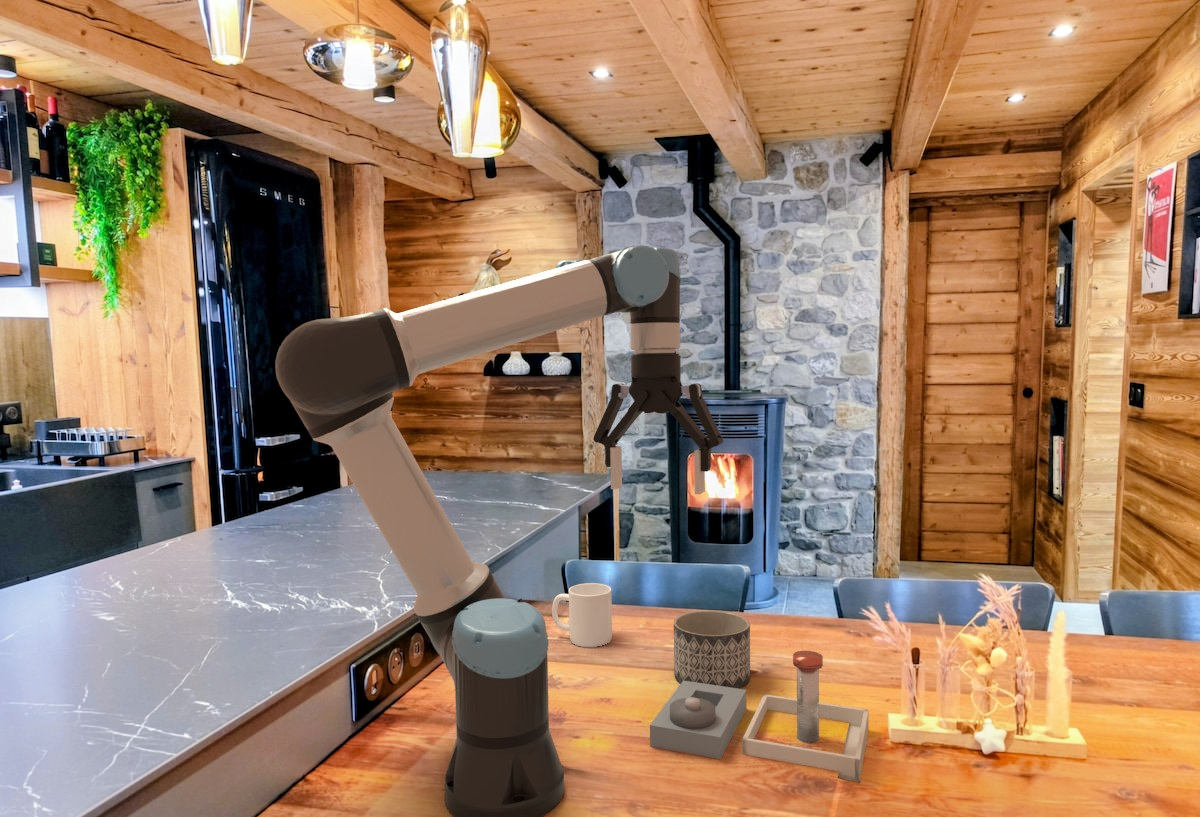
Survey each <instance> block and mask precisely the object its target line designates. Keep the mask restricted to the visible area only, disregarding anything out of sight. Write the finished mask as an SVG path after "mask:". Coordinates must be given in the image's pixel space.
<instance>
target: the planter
mask: <svg viewBox="0 0 1200 817" xmlns="http://www.w3.org/2000/svg"><path fill="white" fill-rule="evenodd" d="M673 655H674V656H673V662H674V663H673V665H674V667H673V670H674V671H673V673H674V675H673V676H674V679H675V680H676V682H678V683H679V685H680V684H681V683H682V681H690V682H697V683H704V684H710V685H717V686H724V687H731V688H738V689H742V688H744V687H747V685H748V684H749V683H750V680H751V623H750V621H749V620H748V618H746V617H744V616H743V615H740V614H738V613H734V612H730V611H725V610H715V609H714V610H713V609H712V610H708V609H707V610H706V609H705V610H704V609H703V610H694V611H689V612H684V613H683V614H679V615H677V616H676V617H675V619H674V620H673Z"/></svg>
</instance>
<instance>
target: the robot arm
mask: <svg viewBox="0 0 1200 817" xmlns="http://www.w3.org/2000/svg"><path fill="white" fill-rule="evenodd" d="M679 261H680V260H679V255H678V252H676V251H675V250H674V249H673V248H668V247H652V246H648V245H644V244H643V245H631V246H627V247H624V248H622V249H619V250H617V251H614V252H610V253H607V254H602V255H600V256H596V257H592V258H589V259H586V260H585V259H579V258H576V259H570V260H569V259H568V260H567V259H564V260H560V261H559V262H558V263H557V264H556V266H555V267H554V269H551V270H546V271H543V272H540V273H537V274H536V273H535V274H533V275H529V276H526V277H525V276H524V277H522V278H518V279H516V280H511V281H508V282H503V283H502V284H501V283H500V284H498V285H494V286H489V287H486V288H483V289H479V290H476V291H473V292H470V293H469V292H468V293H465V294H462V295H458V296H455V297H452V298H448V299H445V300H441V301H437V302H434V303H430V304H426V305H424V306H419V307H416V308H412V309H409V310H405V311H402V312H398V313H397V312H394V311H393V310H391V309H388V308H387V307H385V308H384V307H383V308H381V309H378V310H373V311H369V312H365V313H361V314H354V315H348V316H341V317H331V318H320V319H319V318H318V319H315V320H310V321H307V322H305V323H303V324H300V325H299V326H298V327H296V328H295V329H294V330H292V331H291V332H290V333H289V334H288V335H287V336H286V337H285V338H284V340H283V341H282V342H281V344H280V345H279V348H278V351H277V353H276V358H275V361H274V362H275V363H274V364H275V366H274V368H275V375H276V380H277V382H278V385H279V387H280V388H281V390H282V392H283V393H284V395H285V396H286V397H287V398H288V399H289V401H290V403H291V404H292V406H293V408H294V410H295V411H296V413H297V414H298V417H299V419H300V420H301V421H302V423H303V425H304V427H305V428H306V430H307V432H308V433H309V435H310V437H311V438H312V440H313V441H314V442H319V443H322V444H325V445H328V446H330V447H331V449H332V451H333V452H334V454H335V456H336V457H337V459H338V460H339V462H340V463H341V466H342V467H343V469H344V471H345V472H346V474H347V476H348V477H349V479H350V482H351V483H352V484H353V487H354V488H355V490H356V491H357V493H358V495H359V496H360V499H361V500H362V502H363V503H364V505H365V506H366V507H365V508H367V510H368V512H369V513H370V515H371V517H372V519H373V521H374V522H375V524H376V526H377V527H378V529H379V530H380V533H381V534H382V536H383V538H384V539H385V541H386V542H387V544H388V546H389V548H390V550H391V551H392V553H393V555H394V556H395V558H396V560H397V561H398V563H399V565H400V567H401V568H402V570H403V572H404V573H405V575H406V577H407V578H408V580H409V583H410V584H411V586H412V587H413V589H414V591H415V592H416V598H415V602H414V605H413V611H414V614H415V615H416V617H417V619H418V620H419V622H420V624H421V625H422V627H423V628H424V630H425V632H426V634H427V635H428V637H429V639H430V642H431V644H432V646H433V648H434V649H435V651H436V652H437V654H438V655H439V656H440V658H441V660H442V661H443V664H444V665H445V667H446V669H447V671H448V674H449V675H450V677H451V679H452V680H453V685H454V692H455V694H454V696H455V698H454V700H455V719H456V720H455V723H456V727H455V728H456V739H455V742H454V746H453V750H452V753H451V756H450V759H449V763H448V766H447V769H446V773H445V776H444V781H443V782H444V783H443V792H444V793H443V795H444V804H445V807H446V808H447V810H448V811H449V812H450V814H452V816H454V817H542V816H545V815H546V814H548V813H549V812H551V811H552V810H553V809H555V807H556V806H558V804H559V803H560V802H561V800H562V798H563V797H564V794H565V793H564V792H565V773H564V768H563V764H562V763H561V760H560V757H559V753H558V751H557V748H556V745H555V742H554V739H553V737H552V734H551V731H550V719H549V718H550V716H549V713H550V712H549V677H548V676H549V673H548V671H549V669H548V666H549V665H548V662H549V661H548V651H549V635H548V632H547V624H546V620H545V618H544V616H543V614H542V613H541V612H540V611H539V609H537V608H536V607H535V606H534V605H532V604H530V603H528V602H525V601H523V602H519V601H518V600H517V599H511V598H506V597H505V596H504V593H503V591H502V590H501V589H500V585H499V584H498V583H497V581H496V579H495V578H494V576H493V574H492V572H491V570H490V568H489V566H488V565H486V564H485V563H482V562H481V563H480V562H474V561H473V560H472V559H471V557H470V555H469V553H468V552H467V550H466V548H465V546H464V544H463V542H462V541H461V539H460V537H459V535H458V534H457V532H456V530H455V529H454V527H453V525H452V523H451V521H450V519H449V518H448V516H447V514H446V513H445V511H444V508H443V507H442V505H441V503H440V502H439V499H438V498H437V496H436V494H435V492H434V490H433V489H432V487H431V485H430V483H429V482H428V480H427V478H426V477H425V474H424V473H423V471H422V469H421V468H420V465H419V464H418V462H417V460H416V458H415V456H414V454H413V453H412V451H411V449H410V447H409V446H408V443H407V442H406V440H405V438H404V437H403V436H402V433H401V432H400V429H399V428H398V427H397V424H396V422H395V421H394V419H393V417H392V414H391V410H392V408H393V404H394V400H395V397H394V395H393V394H392V393H394V392H396V391H399V390H402V389H406V388H410V387H411V386H413V383H414V382H415V380H416V378H417V377H418V376H419V375H421V374H424V373H427V372H430V371H433V370H436V369H440V368H443V367H445V366H449V365H453V364H455V363H458V362H459V363H460V362H462V361H464V360H465V361H466V360H468V359H472V358H474V357H477V356H480V355H485V354H487V353H491V352H493V351H494V352H495V351H497V350H500V349H503V348H506V347H509V346H512V345H516V344H519V343H522V342H525V341H528V340H531V339H535V338H538V337H541V336H544V335H547V334H550V333H554V332H556V331H560V330H563V329H566V328H570V327H572V326H576V325H579V324H583V323H584V322H587V321H591V320H594V319H597V318H601V317H604V316H608V315H611V314H614V313H615V314H616V313H623V314H624V313H627V314H628V313H629V316H630V321H629V322H630V349H631V350H632V351H634V354H633V353H632V355H631V356H630V373H631V382H630V385H627V384H626V385H625V384H624V383H621V382H620V383H614V384H612V387H611V393H610V399H609V401H608V404H607V406H606V408H605V411H604V413H603V416H602V418H601V420H600V422H599V424H598V426H597V429H596V430H595V433H594V435H593V438H592V440H593V442H595V443H598V444H599V445H603V447H604V454H605V455H604V456H605V457H604V458H605V460H604V461H605V462H604V464H605V467H606V468H610V490H618V489H620V488H622V487H623V473H622V472H623V463H622V461H623V460H622V458H623V457H622V456H623V455H622V454H623V453H622V445H618V444H619V443H618V442H620V440H621V438H622V437H623V436H624V435H625V433H626V432H628V430H629V429H630V427H631V426H632V425H633V423H634V422H635V421H637V418H639V416H640V415H641V414H642V413H644V414H652V413H656V414H663V415H664V414H667V413H669V414H670V415H671V416H672V417H673V418H675V419H676V421H677V422H678V423H679V425H680V426H681V427H682V429H683V430H684V431H685V432H686V434H687V435H688V436H689V437H690V438H691V439H692V441H693V442H694V443H695V444H696V446H697V447H698V449H696V450H694V452H693V453H694V455H693V456H694V458H693V459H694V465H693V466H694V495H701V494H703V493H705V490H706V483H705V482H706V480H705V478H706V476H705V475H706V473H707V472H709V471H710V470H711V468H712V449H713V448H714V447H718V446H720V445H722V444H723V443H724V438H723V436H722V434H721V433H720V430H719V428H718V426H717V424H716V422H715V420H714V419H713V418H714V417H713V416H712V414H711V412H710V409H709V408H708V406H707V404H706V401H705V399H704V398H703V397H704V396H703V390H702V385H701V384H700V383H690V384H689V385H683V384H682V382H681V372H682V368H681V367H682V366H681V363H682V362H681V355H680V353H677V350H680V348H681V322H680V319H681V308H680V307H681V300H680V299H681V292H680V291H681V289H680V287H681V281H682V278H681V272H680V271H681V270H680V269H681V268H680V262H679ZM683 394H684V395H685V396H686V398H687V399H688V400H690V403H691V405H692V407H693V410H694V411H695V414H696V415H697V417H698V420H699V421H700V424H701V425H702V427H703V429H704V432H705V433H704V432H703V431H702V429H701V428H700V427H699V426H698V425H697V423H696V422H695V420H693V419H692V417H691V416H690V415H689V413H687V411H686V408H685V407H684V406H683V404H681V402H680V401H679V400H680V399H681V397H682V396H683ZM628 395H630V396H631V398H632V399H633V403H631V405H630V406H629V408H628V409H627V412H626V413H625V414H624V415H623V417H621V419H620V420H619V422H617V424H616V425H615V427H614V428H613V429H612V427H613V425H614V423H615V420H616V418H617V415H618V414H619V411H620V409H621V407H622V405H623V402H624V399H626V398H627V397H628ZM611 429H612V431H611ZM610 431H611V432H610ZM705 472H706V473H705Z"/></svg>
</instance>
